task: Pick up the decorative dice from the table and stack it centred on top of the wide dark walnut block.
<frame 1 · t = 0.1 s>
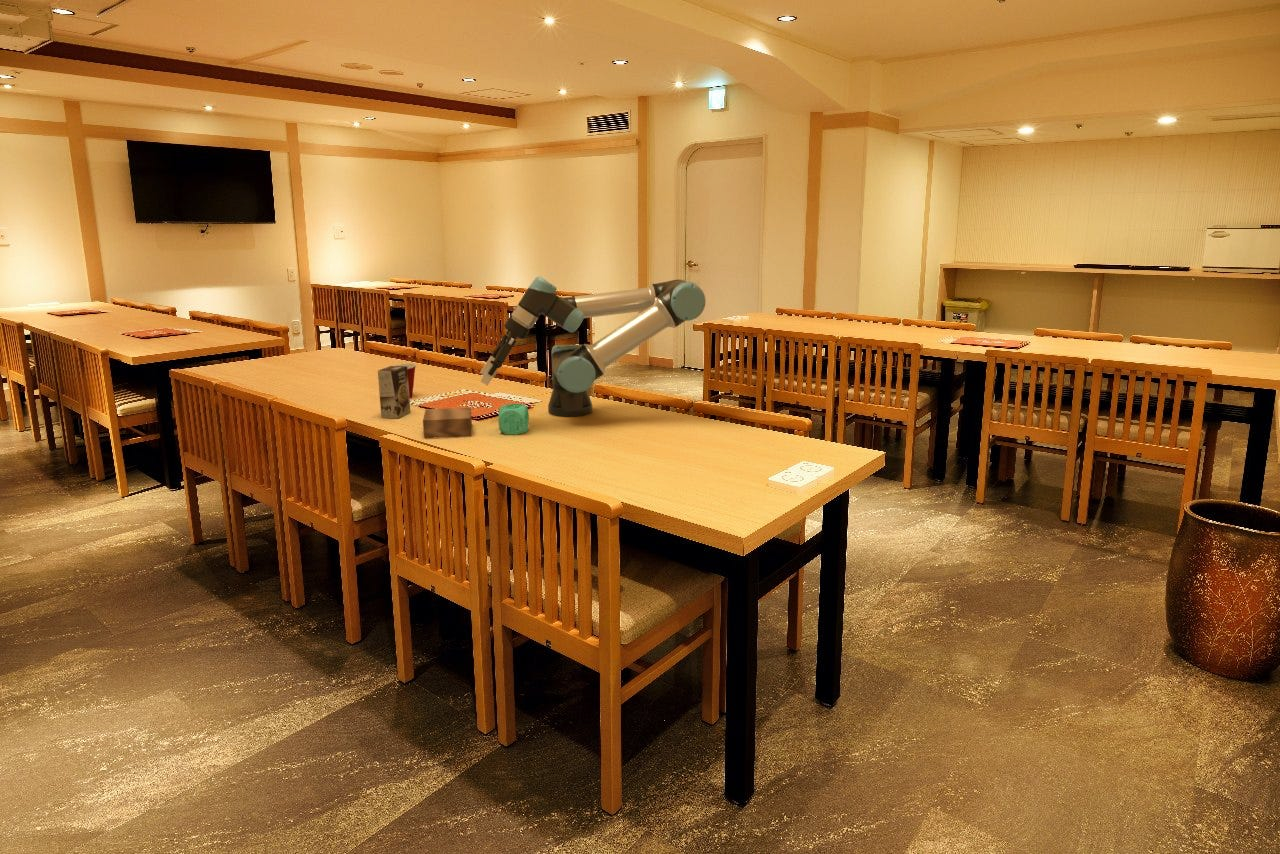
hand: (483, 379, 249), 15 cm above the table, tool tilted 35°, fingers open, 13 cm apart
plastic cup: (403, 397, 292), on the table
decorative dice: (514, 432, 247), on the table
walnut block: (448, 432, 247), on the table
coffee box: (396, 415, 266), on the table
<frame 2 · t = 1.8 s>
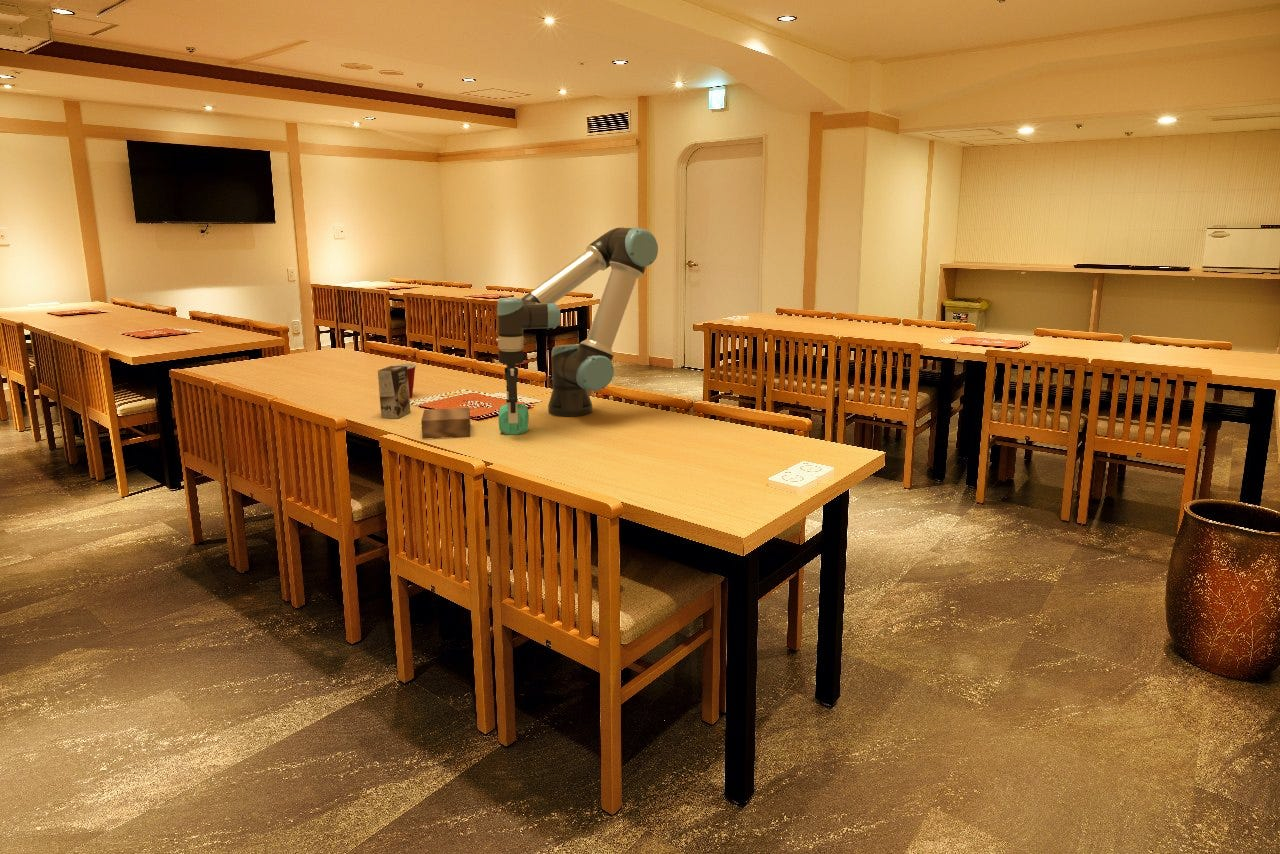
hand: (512, 417, 245), 4 cm above the table, tool pointing down, fingers open, 13 cm apart
nothing on the table moved.
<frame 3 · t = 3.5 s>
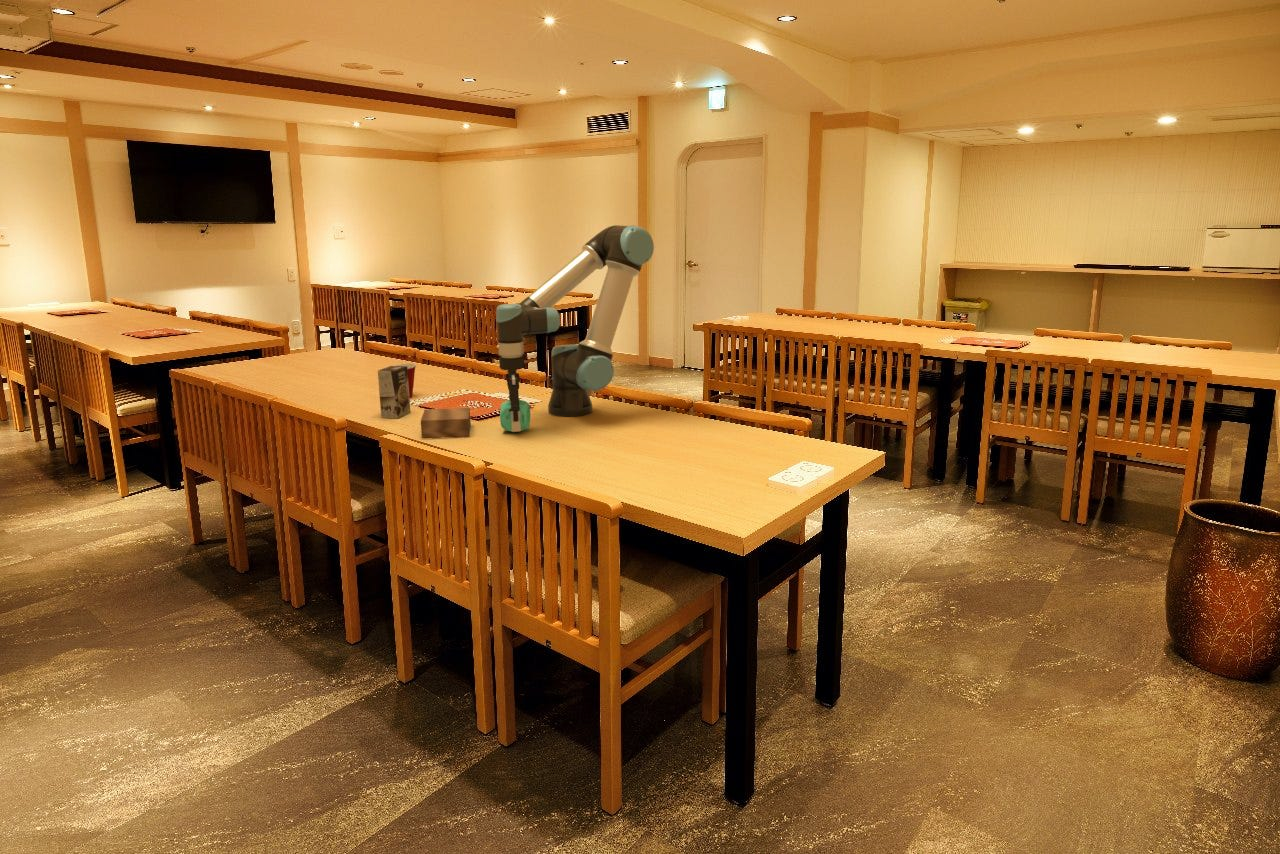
hand: (515, 426, 247), 1 cm above the table, tool pointing down, fingers closed on decorative dice, 9 cm apart
decorative dice: (516, 428, 247), point 1 cm above the table, touching gripper
everything else where it was.
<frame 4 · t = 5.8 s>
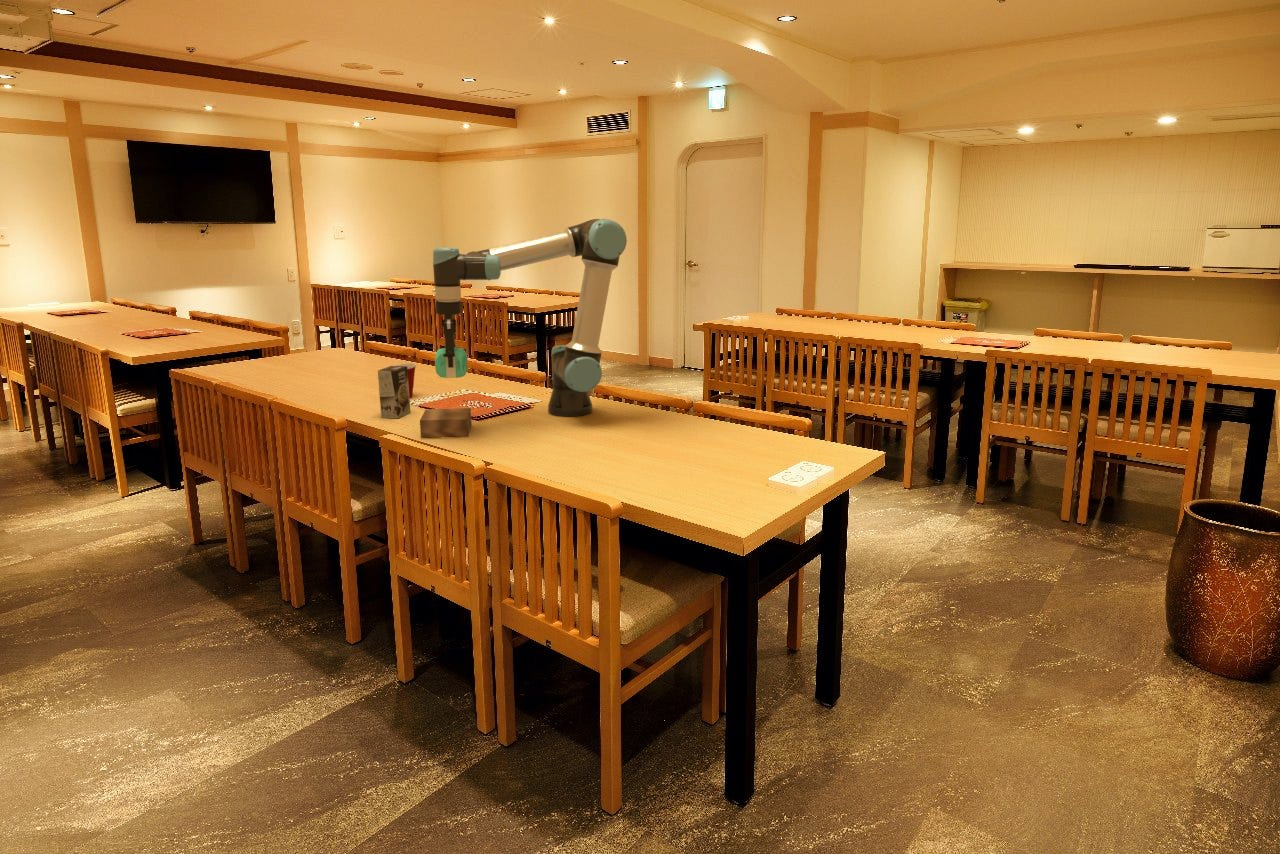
hand: (451, 374, 242), 18 cm above the table, tool pointing down, fingers closed on decorative dice, 9 cm apart
decorative dice: (452, 376, 242), point 17 cm above the table, touching gripper
everything else where it was.
when the fingers open (7 cm above the table, at t = 8.0 s): decorative dice drops 2 cm, resting on walnut block.
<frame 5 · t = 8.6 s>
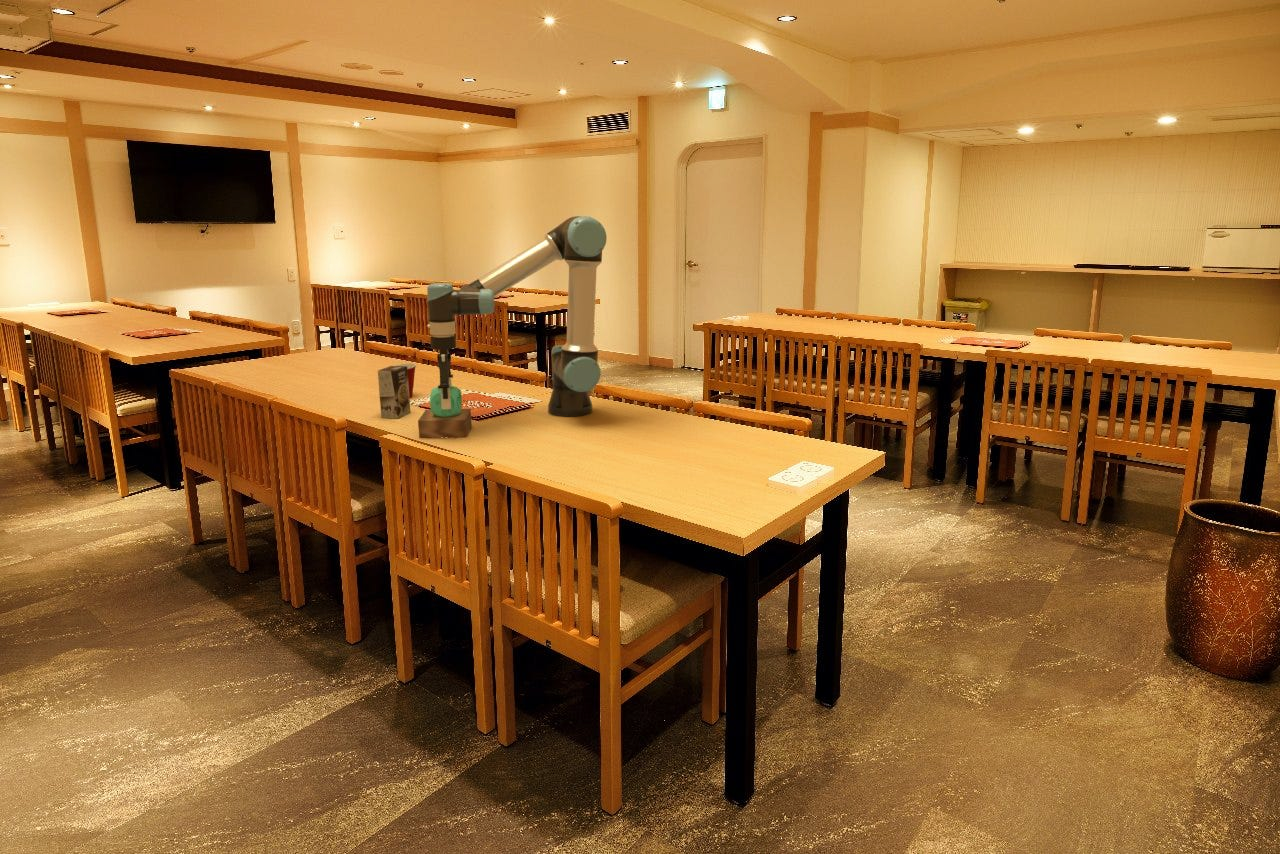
hand: (447, 403, 245), 9 cm above the table, tool pointing down, fingers open, 13 cm apart
decorative dice: (447, 414, 245), point 5 cm above the table, touching walnut block
walnut block: (446, 433, 246), on the table, touching decorative dice
everything else where it was.
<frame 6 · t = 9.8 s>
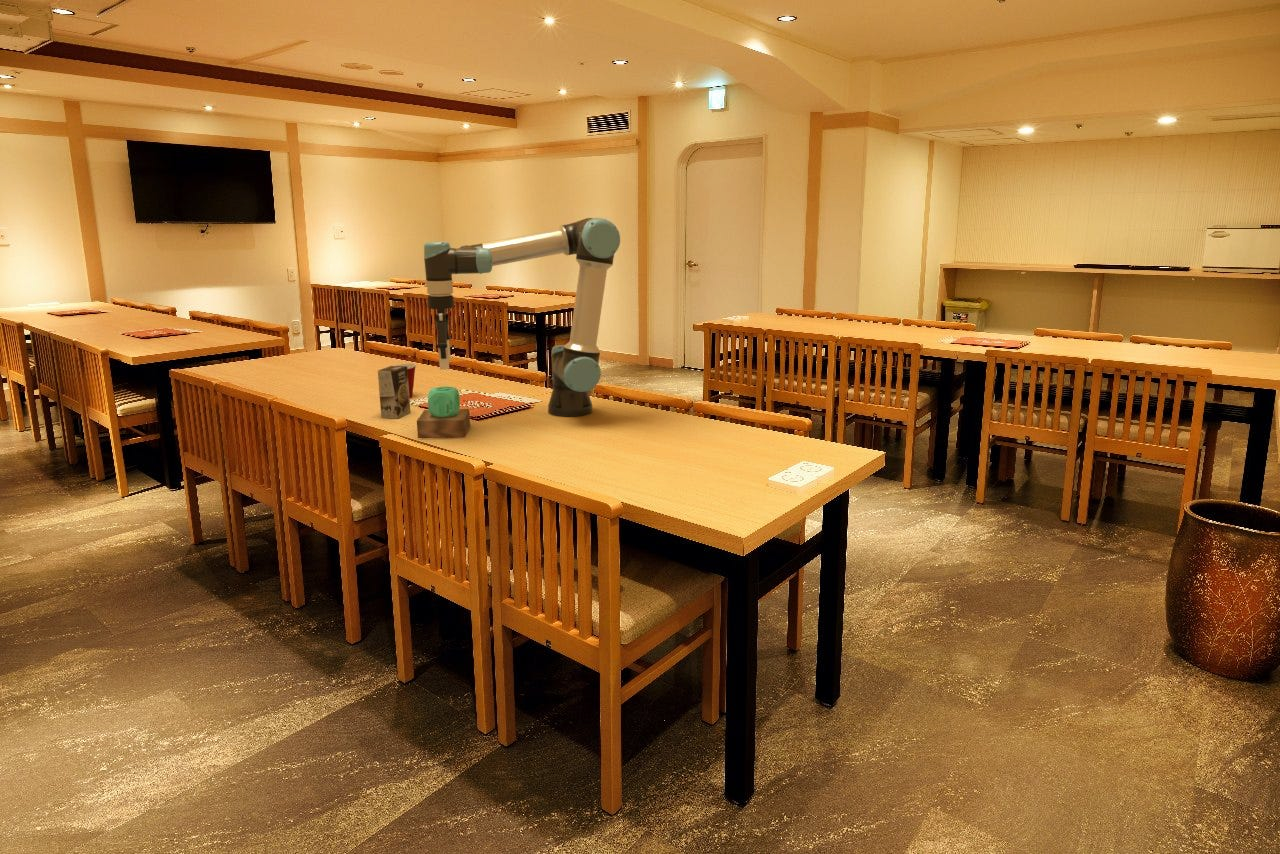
hand: (445, 365, 241), 21 cm above the table, tool pointing down, fingers open, 13 cm apart
nothing on the table moved.
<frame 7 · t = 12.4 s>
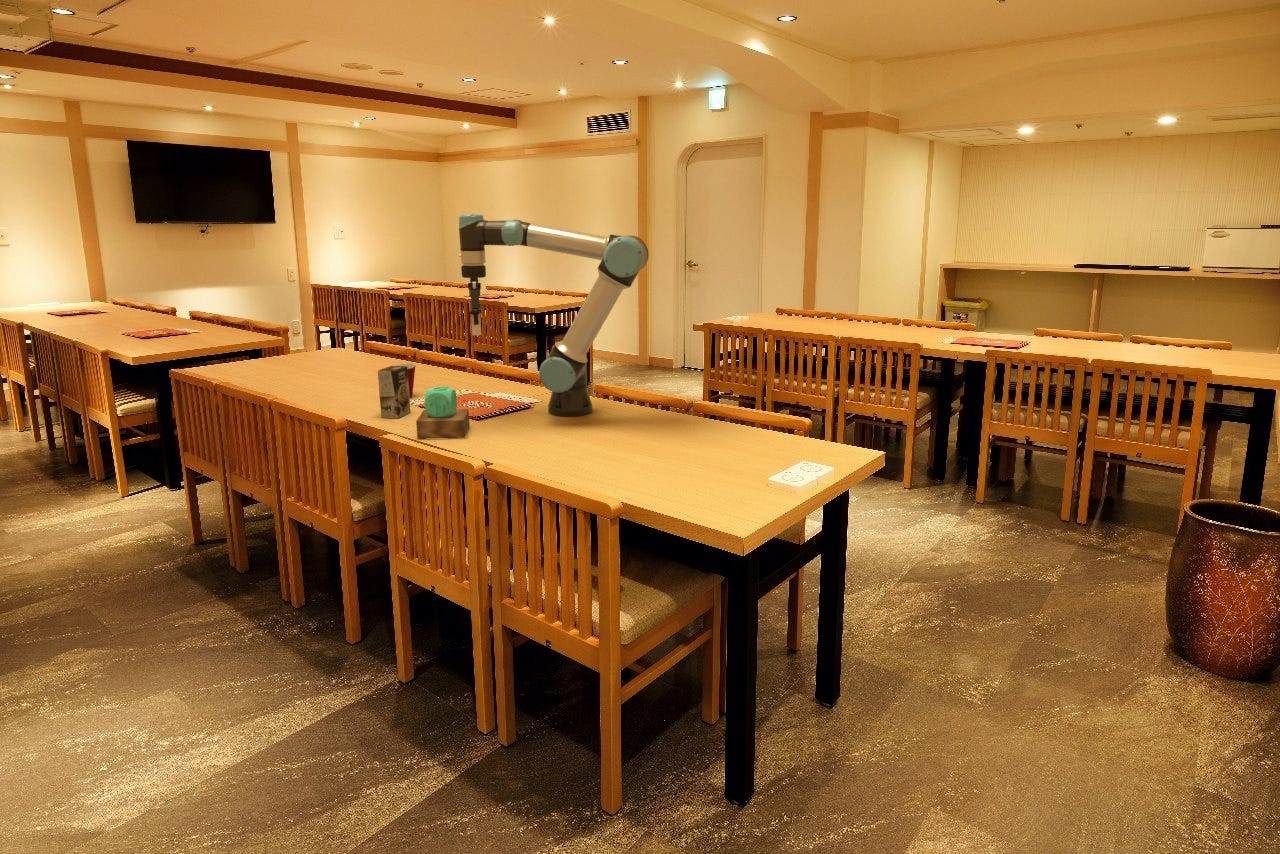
hand: (476, 332, 254), 29 cm above the table, tool pointing down, fingers open, 13 cm apart
at the end: decorative dice inside the target area on the walnut block (0.6 cm from its centre), point 5.8 cm above the walnut block's base; decorative dice tilted 0°; the gripper is holding nothing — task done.
